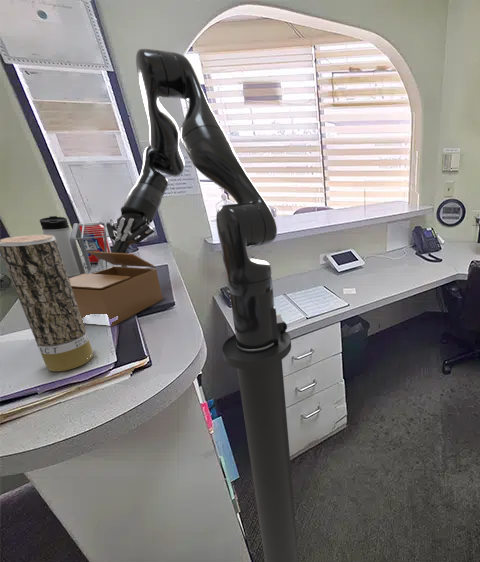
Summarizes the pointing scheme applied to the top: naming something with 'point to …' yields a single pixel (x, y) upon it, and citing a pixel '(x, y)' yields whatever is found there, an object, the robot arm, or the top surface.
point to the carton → (116, 292)
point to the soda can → (95, 240)
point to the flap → (121, 259)
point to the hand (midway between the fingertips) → (116, 255)
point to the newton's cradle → (101, 263)
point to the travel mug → (61, 241)
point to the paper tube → (47, 300)
